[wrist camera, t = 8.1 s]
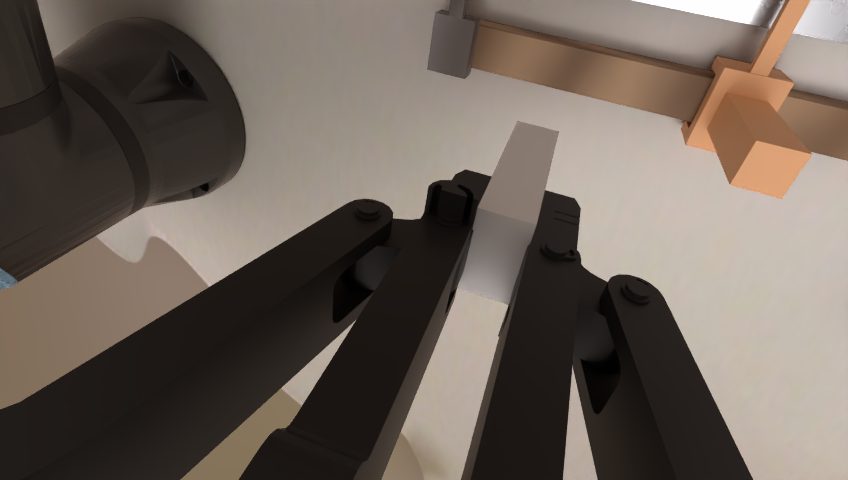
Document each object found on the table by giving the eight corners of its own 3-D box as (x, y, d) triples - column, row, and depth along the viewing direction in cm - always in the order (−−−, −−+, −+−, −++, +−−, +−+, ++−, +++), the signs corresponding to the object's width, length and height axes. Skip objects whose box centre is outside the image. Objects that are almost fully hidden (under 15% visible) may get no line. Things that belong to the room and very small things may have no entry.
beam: (443, 58, 31) (427, 69, 29) (471, -121, 26) (455, -126, 23) (928, 177, 26) (961, 204, 23) (1099, -18, 20) (1167, -10, 18)
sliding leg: (681, 128, 28) (701, 202, 20) (778, -71, 22) (859, -71, 14) (738, 143, 27) (781, 225, 20) (854, -58, 21) (980, -52, 14)
